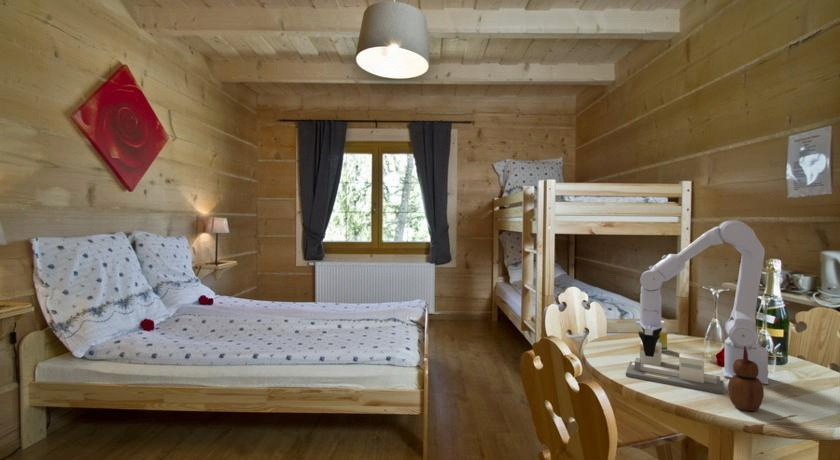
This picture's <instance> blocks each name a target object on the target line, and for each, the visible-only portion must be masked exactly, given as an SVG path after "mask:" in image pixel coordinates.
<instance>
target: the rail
mask: <svg viewBox="0 0 840 460" xmlns="http://www.w3.org/2000/svg"><path fill="white" fill-rule="evenodd" d="M678 358H679V359H678V362H679V364H678V365H679V368H673V367H672V368H671V367H667V366H662V365H661V366H655V365H649V364H643V363H641V358H640V357H635V360H634V361H631V360H630V362H629V364H628V366H627V369H626V371H625V377H629V378H632V379H634V378H635V379H639V380H644V381H649V382H650V381H651V382H656V383H661V384H667V385H672V386H678V387H683V388H687V389H692V390H693V389H694V390H697V391H705V392H709V393H710V392H711V393H714V394H715V393H716V394H720V395H723V386H722V381H721V376H720V375H714V374H709V373H705V356H704V354H698V353H693V352H692V353H690V352H682V351H679V355H678Z"/></svg>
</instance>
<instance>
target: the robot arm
mask: <svg viewBox="0 0 840 460" xmlns="http://www.w3.org/2000/svg"><path fill="white" fill-rule="evenodd" d="M724 242H726V243H727V244H729V245H731V246H733V248H735V249H736V250H737V251H738V253H740V254H741V258H740V264H739V271H738V277H737V283H736V289H735V294H734V295H735V296H734V302H733V307H732V308H733V309H732V311H731V313H730V316H729V318H728V320H727V321H726V322H725V324H724V330H725V333H726V334H727V338H726V339H725V340H724V366H723V367H721V370H722V374H723V377H724V378H729V379H731V378H732V377H733V376H734V375H736V374H735V373H734V371H733V364H734V362H735V361H736V360H737V359H743V354H744V346H745V347H746V350H747V353H748V360H750V361H753V362H755V363H756V364H757V365H758V369H759V373H758V376H757V377H756V378H758V379H759V380H760V381H761V383H762V384H763V385H764V384H765V385H768V384H769V381H768V379H769V359H768V357H769V356H768V350H767V348H766V347H761V346H758V343H757V342H758V340H759V335H758V333H757V330H756V324H757V323H756V322H757V321H756V320H757V319H756V309H757V303H758V297H759V296H758V295H759V291H760V284H761V278H762V273H763V266H764V261H765V254H766V251H765V250H766V249H765V248H764V246H763V244H762V243H761V241H760V239H759V238H758V236H757V235H756V234H755V231H754V229H753V228H751V227H750V226H749V225H747V224H746V223H744V222H743V221H740V220H736V219H734V220H724V221H723V222H720V223H719V225H718V226H714V227H711V229H709V230H707V231H705V232H704V233H702V234H701V235H700V236H699V237H697V238H695V240H694V241H693V242H691V243H690V244H689V245H688V246H686V247H685V248H684V249H682V250H681V251H679V252H678V253H677V254H676V253H669V254H667V255H666V254H664V255H663V256H661V260H659V261H658V262H657V263H656V264H654V265H650V266H649V267H648V269H649V270H646V271H645V270H644V272H643V273H642V274H641V275H640V279H639V283H640V285H641V286H640V295H639V296H640V297H639V298H640V299H639V300H640V301H639V306H640V307H639V308H640V309H639V317H640V319H639V320H636V321H635V325H638V326H640V327H641V329H642V331H638V336H639V338H640V341H641V340H642V343H643V347H644V352H645V356H650V357H653V356H654V352H655V347H656V343H657V341H658V339H659V338H660V335H659V334H660V332H661V330H662V324H661V321H662V294H661V287H662V285H663V282H667V281H669V280H671V279H672V278H673V277H675V276H676V275H678V274H680V272H682V271H683V270H684V269H686V263H687V262H688V261H689V260H691V259H692V258H694V257H695V256H696V255H698V254H700V253H701V252H703V251H705V250H706V249H707V248H709V247H710V246H715V245H716V246H717V245H721V244H724Z"/></svg>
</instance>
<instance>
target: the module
mask: <svg viewBox="0 0 840 460" xmlns="http://www.w3.org/2000/svg"><path fill="white" fill-rule="evenodd" d="M662 353H663V351H662V343H659V342H657V343H656V347H655V352H654V356H653V357H650V356H645V352H644V347H643V343H642V340H641V339H640V343H639V358H641V363H643V364H649V365H655V366H661V367H662V365H661V364H662V356H663V355H662Z"/></svg>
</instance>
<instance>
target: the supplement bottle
mask: <svg viewBox="0 0 840 460" xmlns="http://www.w3.org/2000/svg"><path fill="white" fill-rule="evenodd" d="M665 323H666V322H665V321H664V320H661V324H662V330H661V332H660V334H659V335H660V338H659V339H658V341H657V342H659V343H662V352H667V351H668V329H667V328H666V327H665Z"/></svg>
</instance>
